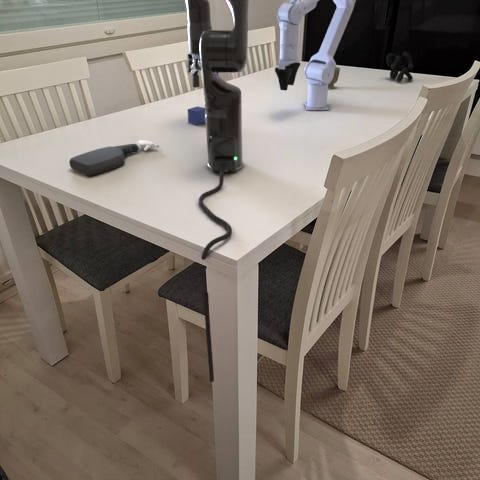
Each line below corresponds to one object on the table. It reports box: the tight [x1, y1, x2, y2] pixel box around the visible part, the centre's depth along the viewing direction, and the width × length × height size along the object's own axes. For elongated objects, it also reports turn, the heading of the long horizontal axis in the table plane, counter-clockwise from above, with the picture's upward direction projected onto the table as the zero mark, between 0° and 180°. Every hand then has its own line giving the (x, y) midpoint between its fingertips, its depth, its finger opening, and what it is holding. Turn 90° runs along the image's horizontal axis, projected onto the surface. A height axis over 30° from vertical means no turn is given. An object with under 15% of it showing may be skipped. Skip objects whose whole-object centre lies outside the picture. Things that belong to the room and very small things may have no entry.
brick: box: [187, 106, 206, 126], centre depth 151 cm, size 4×5×5 cm
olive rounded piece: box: [328, 66, 341, 89], centre depth 188 cm, size 8×7×8 cm
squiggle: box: [385, 51, 414, 83], centre depth 198 cm, size 11×10×15 cm
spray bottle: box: [68, 139, 160, 177], centre depth 124 cm, size 3×11×24 cm
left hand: (203, 89), depth 148 cm, fingers open, 8 cm apart
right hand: (287, 87), depth 153 cm, fingers open, 7 cm apart
